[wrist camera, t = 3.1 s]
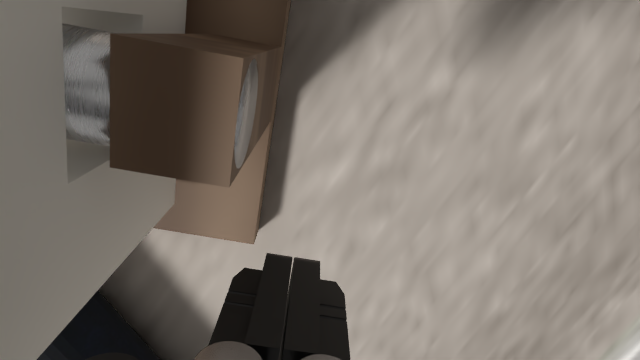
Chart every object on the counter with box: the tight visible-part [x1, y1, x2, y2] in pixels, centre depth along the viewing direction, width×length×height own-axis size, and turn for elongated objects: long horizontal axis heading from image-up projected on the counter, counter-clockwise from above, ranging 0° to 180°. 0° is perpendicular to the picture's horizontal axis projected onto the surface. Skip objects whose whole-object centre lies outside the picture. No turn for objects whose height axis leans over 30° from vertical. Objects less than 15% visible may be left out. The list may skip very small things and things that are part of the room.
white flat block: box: [0, 0, 187, 360], centre depth 11 cm, size 2×12×12 cm, turn 170°
